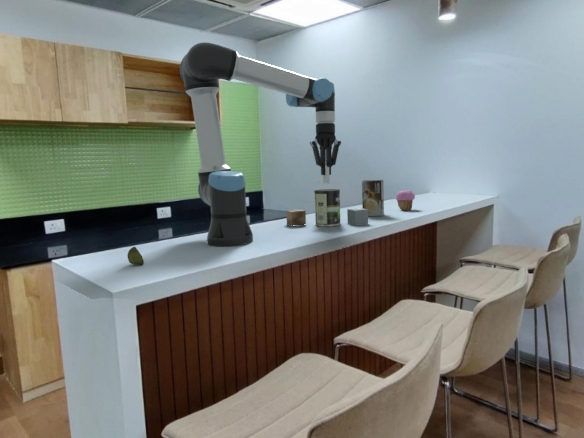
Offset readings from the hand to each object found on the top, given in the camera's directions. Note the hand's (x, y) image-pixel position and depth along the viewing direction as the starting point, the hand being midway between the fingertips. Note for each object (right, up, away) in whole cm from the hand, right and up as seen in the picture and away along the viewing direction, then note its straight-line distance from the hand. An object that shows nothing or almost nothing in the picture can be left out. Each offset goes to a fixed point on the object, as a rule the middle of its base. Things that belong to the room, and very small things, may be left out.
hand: (326, 183), depth 167 cm
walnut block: (-12, -17, +5) cm, 21 cm away
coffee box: (+24, -13, +25) cm, 37 cm away
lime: (-55, -27, -55) cm, 83 cm away
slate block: (+13, -16, +2) cm, 21 cm away
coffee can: (+1, -17, +2) cm, 17 cm away
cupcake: (+43, -10, +40) cm, 59 cm away
